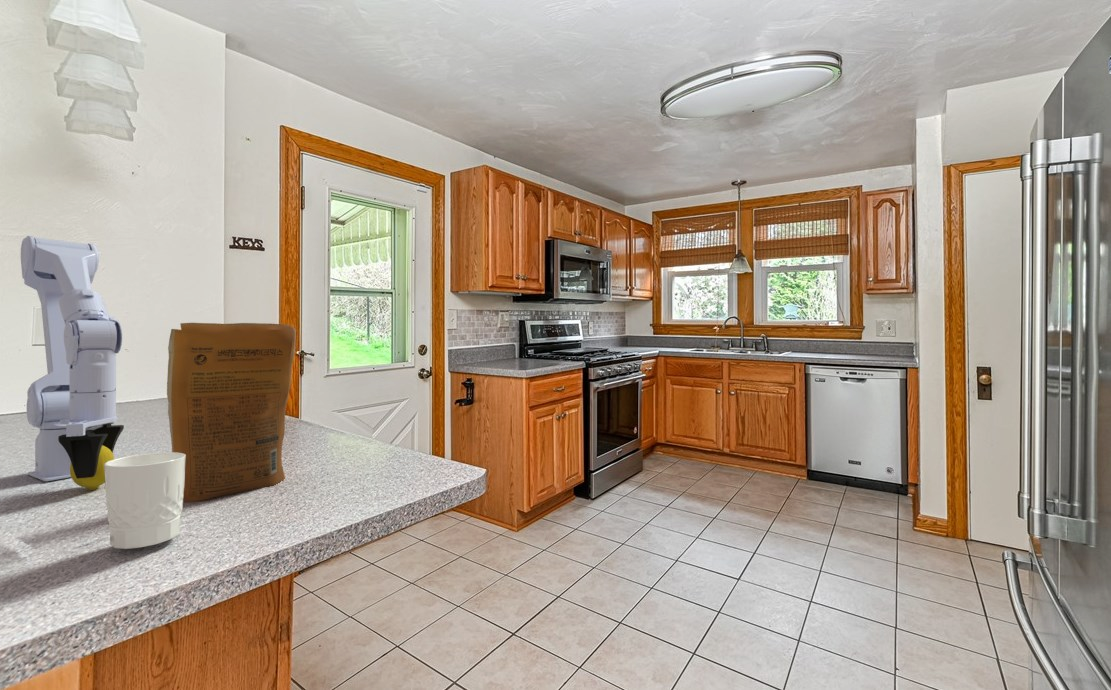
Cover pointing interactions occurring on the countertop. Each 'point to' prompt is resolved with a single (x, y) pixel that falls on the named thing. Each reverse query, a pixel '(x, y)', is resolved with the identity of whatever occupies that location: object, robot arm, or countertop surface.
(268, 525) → the countertop surface
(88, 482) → the lemon
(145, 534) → the white cup
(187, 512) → the countertop surface
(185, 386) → the pancake mix bag
